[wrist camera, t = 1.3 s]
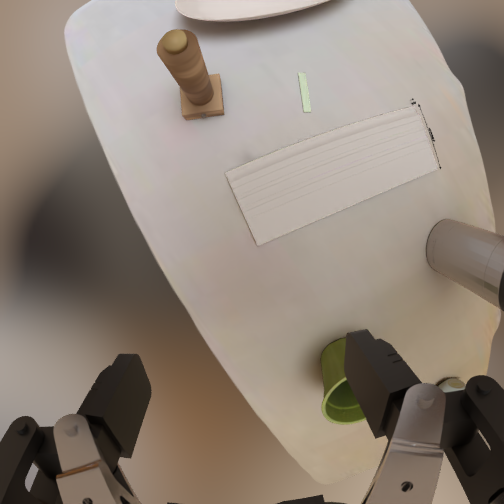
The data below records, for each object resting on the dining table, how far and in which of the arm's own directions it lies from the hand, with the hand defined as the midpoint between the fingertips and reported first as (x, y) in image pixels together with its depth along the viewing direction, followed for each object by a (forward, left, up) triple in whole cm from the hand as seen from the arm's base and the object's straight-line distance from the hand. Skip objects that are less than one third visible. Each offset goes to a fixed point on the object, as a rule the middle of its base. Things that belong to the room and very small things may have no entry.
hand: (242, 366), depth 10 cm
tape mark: (-11, -18, -28) cm, 35 cm away
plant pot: (-14, +23, -29) cm, 39 cm away
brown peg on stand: (+3, -18, -28) cm, 34 cm away
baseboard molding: (-15, -8, -29) cm, 34 cm away
